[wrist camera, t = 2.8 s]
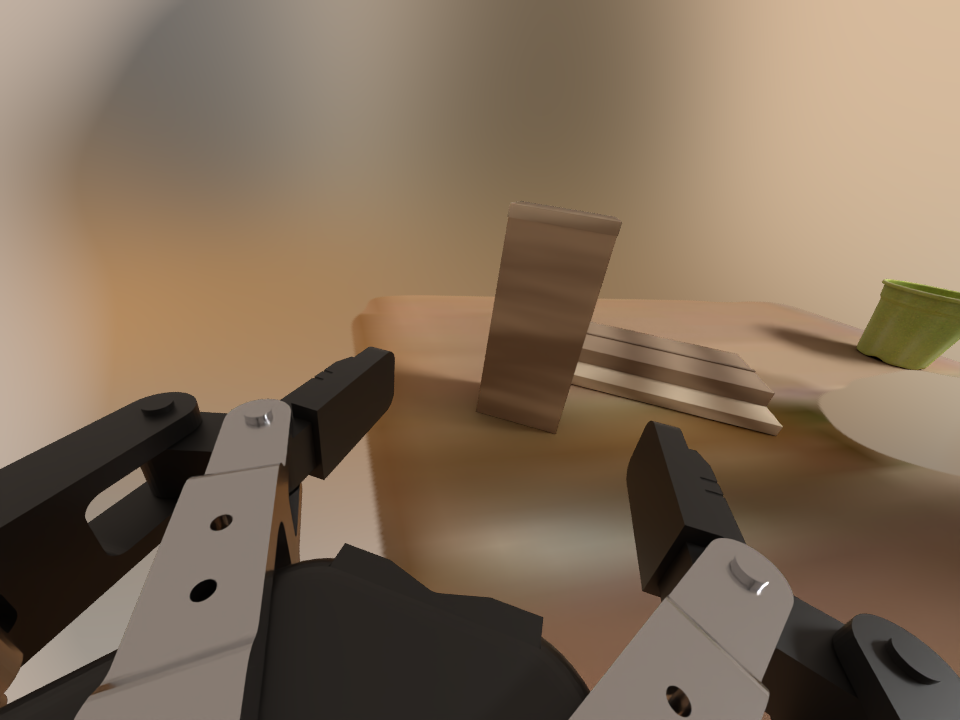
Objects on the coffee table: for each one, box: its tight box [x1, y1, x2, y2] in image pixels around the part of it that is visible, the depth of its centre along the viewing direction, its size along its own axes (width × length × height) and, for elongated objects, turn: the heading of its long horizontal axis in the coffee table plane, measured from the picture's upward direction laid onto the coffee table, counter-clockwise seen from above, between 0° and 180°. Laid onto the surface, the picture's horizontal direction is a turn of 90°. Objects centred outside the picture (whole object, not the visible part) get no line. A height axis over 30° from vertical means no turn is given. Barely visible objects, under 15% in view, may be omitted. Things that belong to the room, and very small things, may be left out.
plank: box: [476, 201, 622, 434], centre depth 20 cm, size 4×5×12 cm
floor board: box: [571, 322, 783, 436], centre depth 29 cm, size 18×10×2 cm, turn 75°
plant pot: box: [856, 279, 960, 370], centre depth 41 cm, size 9×9×9 cm
